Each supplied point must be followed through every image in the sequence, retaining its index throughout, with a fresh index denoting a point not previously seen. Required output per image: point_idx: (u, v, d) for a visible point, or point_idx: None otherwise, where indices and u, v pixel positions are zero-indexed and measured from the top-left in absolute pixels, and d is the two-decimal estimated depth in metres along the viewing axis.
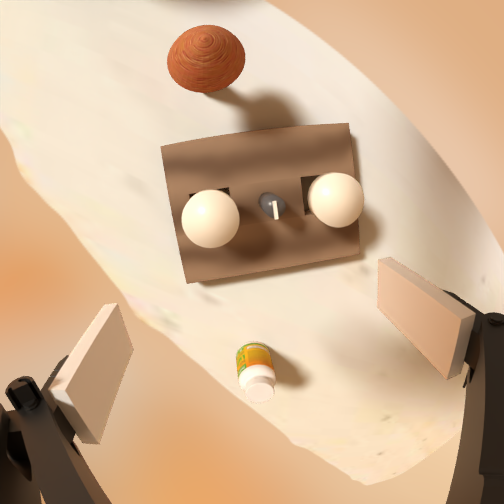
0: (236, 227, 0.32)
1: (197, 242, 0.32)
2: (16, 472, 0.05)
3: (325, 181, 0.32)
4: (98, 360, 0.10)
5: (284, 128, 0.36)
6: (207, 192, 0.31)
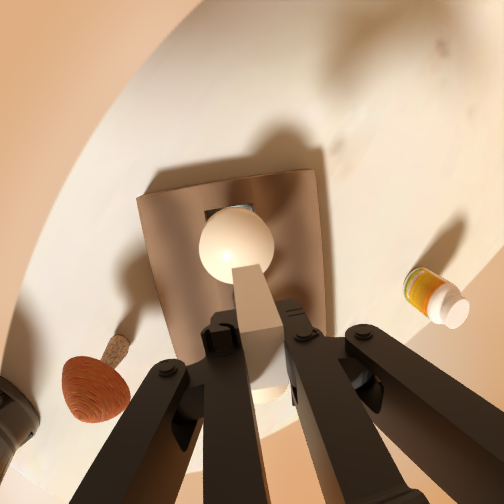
0: None
1: (281, 391, 0.29)
2: (174, 442, 0.07)
3: (211, 270, 0.25)
4: None
5: (155, 279, 0.31)
6: None
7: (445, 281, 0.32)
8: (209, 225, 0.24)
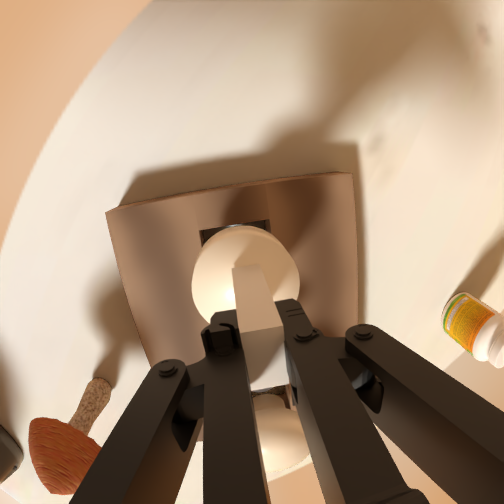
0: (288, 431, 0.19)
1: (301, 458, 0.21)
2: (174, 442, 0.07)
3: (210, 317, 0.17)
4: None
5: (136, 320, 0.23)
6: None
7: (493, 312, 0.24)
8: (206, 255, 0.16)
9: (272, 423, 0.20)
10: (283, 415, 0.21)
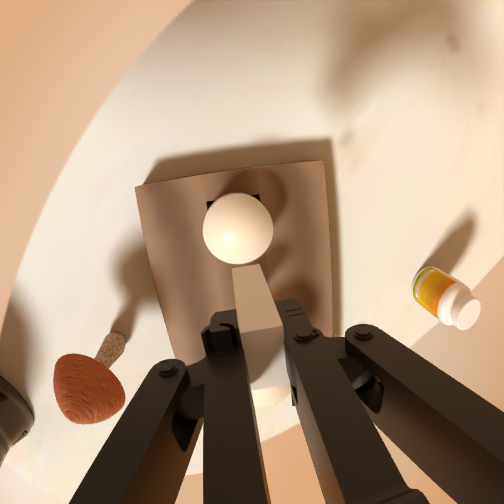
0: None
1: (285, 394, 0.28)
2: (174, 442, 0.07)
3: (214, 250, 0.27)
4: None
5: (153, 273, 0.30)
6: None
7: (456, 280, 0.31)
8: (213, 207, 0.25)
9: None
10: None
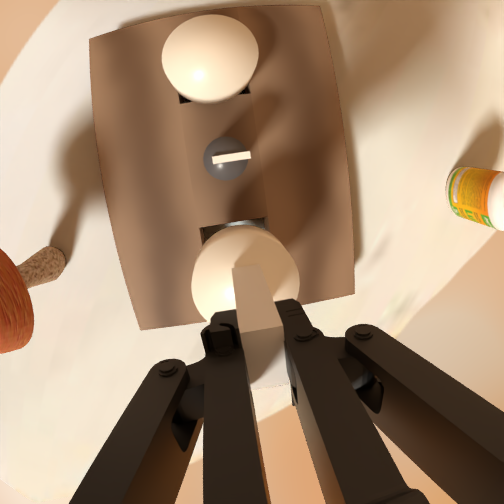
0: (262, 239, 0.16)
1: None
2: (174, 442, 0.07)
3: (175, 78, 0.16)
4: None
5: (98, 140, 0.19)
6: (194, 293, 0.17)
7: None
8: (177, 28, 0.15)
9: (241, 231, 0.17)
10: (257, 229, 0.18)
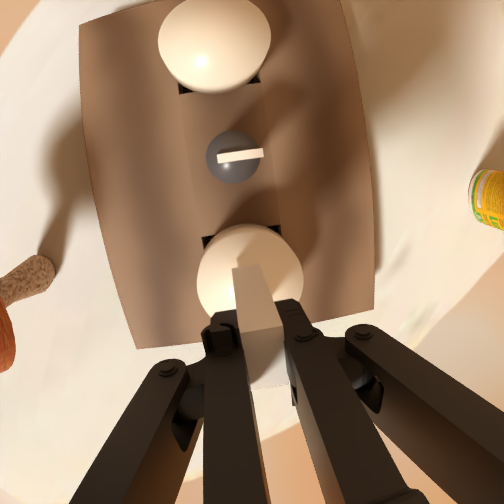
0: (267, 238, 0.17)
1: None
2: (174, 442, 0.07)
3: (173, 63, 0.13)
4: None
5: (86, 136, 0.16)
6: (199, 290, 0.17)
7: None
8: (176, 8, 0.12)
9: (246, 229, 0.17)
10: (262, 228, 0.18)
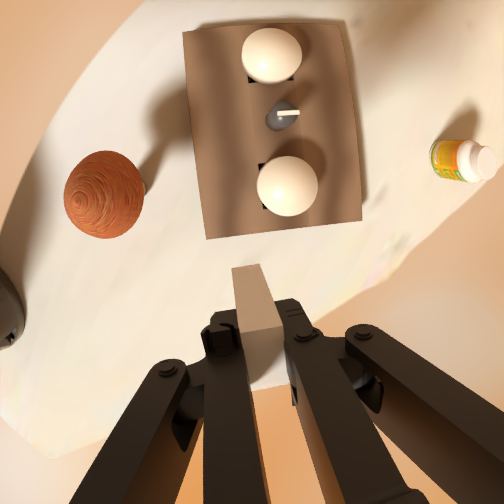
0: (298, 159, 0.29)
1: (310, 201, 0.30)
2: (174, 442, 0.07)
3: (251, 65, 0.26)
4: None
5: (189, 100, 0.29)
6: (259, 187, 0.30)
7: None
8: (251, 34, 0.25)
9: None
10: None
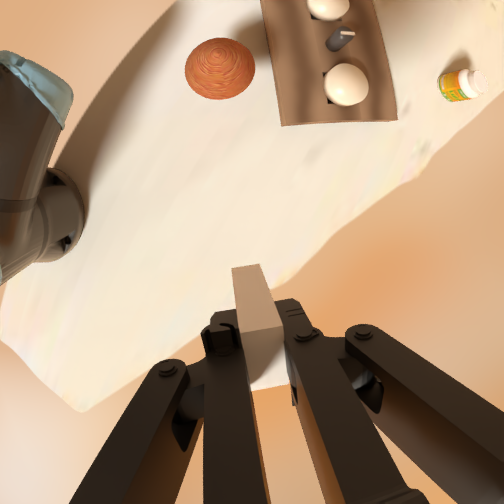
0: (353, 66, 0.35)
1: (364, 95, 0.36)
2: (174, 442, 0.07)
3: (317, 5, 0.32)
4: None
5: (270, 26, 0.35)
6: (329, 81, 0.35)
7: None
8: None
9: None
10: None
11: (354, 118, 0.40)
